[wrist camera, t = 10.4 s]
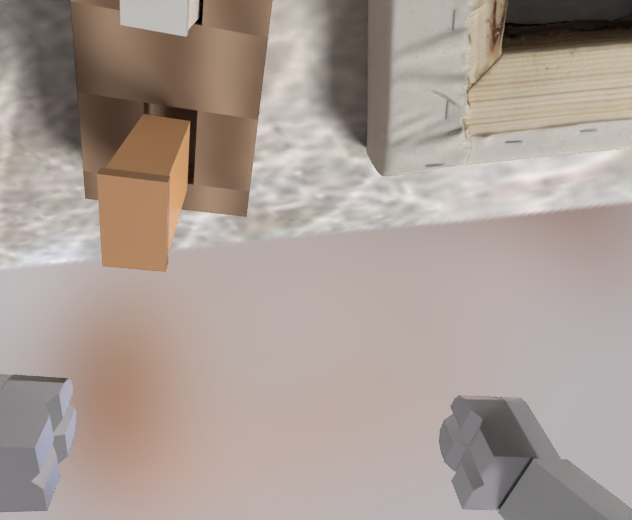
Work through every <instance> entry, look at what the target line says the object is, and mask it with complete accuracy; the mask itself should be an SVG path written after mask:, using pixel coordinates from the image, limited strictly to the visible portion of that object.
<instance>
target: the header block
mask: <svg viewBox="0 0 632 520" xmlns="http://www.w3.org/2000/svg"><path fill="white" fill-rule="evenodd" d="M70 1H71V15H72V28H73V41H74V54H75V68H76V81H77V94H78V107H79V121H80V134H81V147H82V160H83V174H84V187H85V198H86V199H94V200H98V183H97V173H98V172H99V170H100V169H101V168H105V167H106V166H107V165H108V163H109V162H110V160H111V159H112V158H113V156H114V155H115V153H116V152H117V151H118V149H119V148H120V146H121V145H122V143H123V142H124V141H125V139H126V138H127V136H128V135H129V134H130V132H131V131H132V129H133V128H134V127H135V125H136V124H137V122H138V121H139V119H140V118H141V117H142V115H143V114H146V115H153V116H159V117H166V118H173V119H180V120H187V121H190V138H189V160H188V182H187V192H186V195H185V199H184V202H183V205H182V209H183V210H192V211H200V212H209V213H218V214H227V215H236V216H245V217H246V216H247V208H248V199H249V191H250V183H251V174H252V166H253V158H254V149H255V141H256V133H257V124H258V116H259V108H260V99H261V91H262V83H263V74H264V66H265V58H266V49H267V41H268V33H269V24H270V16H271V8H272V0H204V1H203V14H202V15H201V16H200V17H199V19H198V20H197V21H196V22H195V23H194V24H193V25H192V26H191V27H190V28H189V30H188V35H187V36H186V37H185V36H179V35H174V34H168V33H162V32H157V31H151V30H146V29H140V28H135V27H129V26H124V25H120V0H70Z"/></svg>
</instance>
